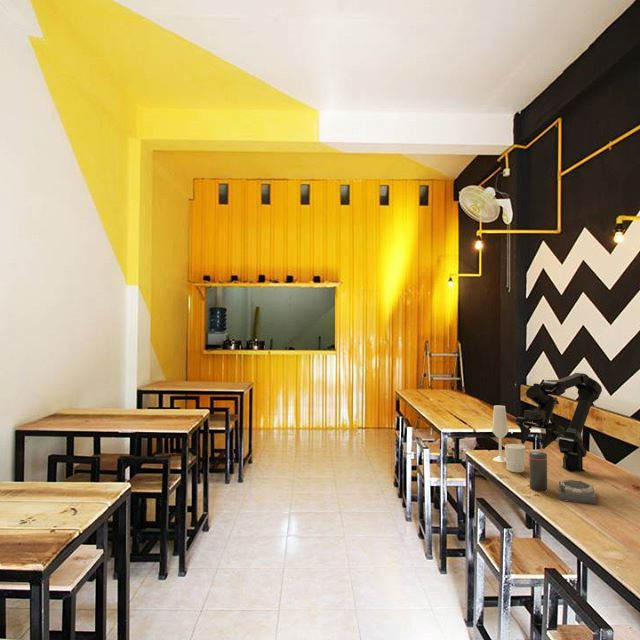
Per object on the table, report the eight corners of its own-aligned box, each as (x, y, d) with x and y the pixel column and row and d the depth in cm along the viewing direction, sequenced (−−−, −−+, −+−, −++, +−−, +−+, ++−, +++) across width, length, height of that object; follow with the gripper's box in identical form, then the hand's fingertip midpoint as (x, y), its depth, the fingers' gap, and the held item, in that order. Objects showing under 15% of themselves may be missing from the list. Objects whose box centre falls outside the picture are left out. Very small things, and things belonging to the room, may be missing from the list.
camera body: (559, 488, 183) (558, 477, 183) (592, 492, 178) (592, 481, 178) (559, 500, 171) (559, 488, 171) (595, 504, 167) (595, 492, 167)
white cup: (528, 472, 202) (528, 448, 202) (509, 473, 202) (508, 448, 202) (521, 467, 210) (520, 443, 210) (502, 467, 210) (502, 443, 210)
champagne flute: (506, 462, 216) (505, 408, 217) (490, 460, 220) (489, 406, 220) (510, 459, 222) (509, 405, 222) (494, 457, 226) (493, 404, 226)
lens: (543, 485, 186) (542, 450, 186) (550, 491, 180) (549, 455, 180) (527, 486, 186) (526, 451, 186) (533, 491, 180) (533, 455, 180)
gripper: (513, 398, 202) (500, 433, 198) (555, 404, 186) (542, 442, 181) (529, 409, 206) (516, 444, 202) (571, 416, 190) (558, 454, 186)
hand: (532, 446), depth 193 cm, fingers open, 9 cm apart
